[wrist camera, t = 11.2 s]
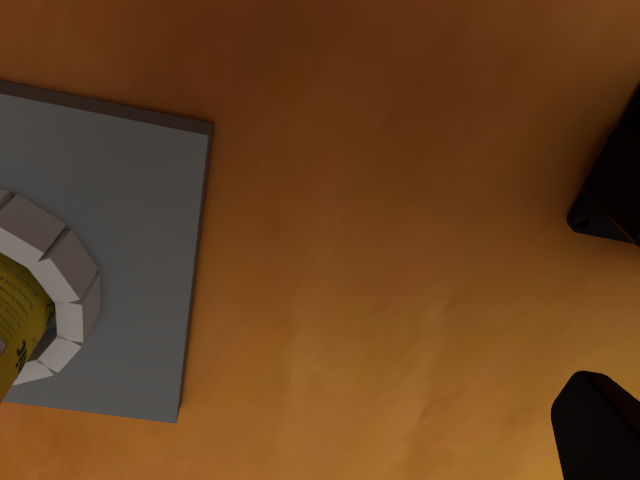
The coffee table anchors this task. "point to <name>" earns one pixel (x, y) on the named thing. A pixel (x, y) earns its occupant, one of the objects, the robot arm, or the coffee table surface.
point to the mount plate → (104, 246)
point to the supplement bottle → (20, 319)
